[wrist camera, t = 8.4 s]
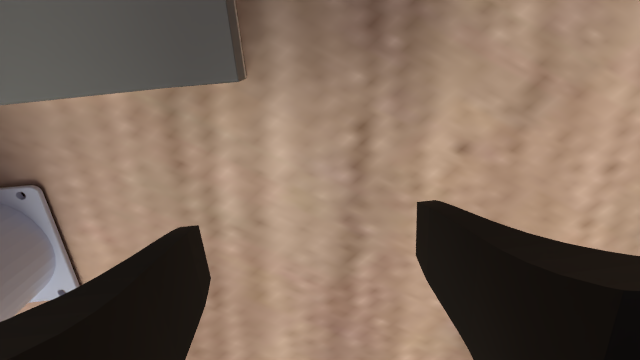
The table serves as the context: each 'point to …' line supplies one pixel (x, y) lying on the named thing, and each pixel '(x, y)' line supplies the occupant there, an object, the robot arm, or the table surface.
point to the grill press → (110, 47)
